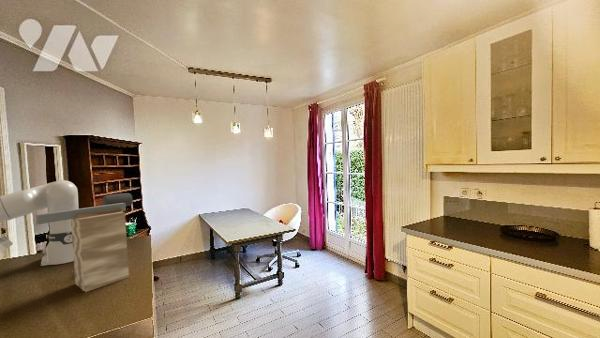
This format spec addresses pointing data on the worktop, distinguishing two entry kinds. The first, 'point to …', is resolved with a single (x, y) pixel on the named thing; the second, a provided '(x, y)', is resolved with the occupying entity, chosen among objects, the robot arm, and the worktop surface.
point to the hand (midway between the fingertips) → (8, 239)
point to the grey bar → (75, 213)
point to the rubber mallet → (117, 199)
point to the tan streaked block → (99, 248)
